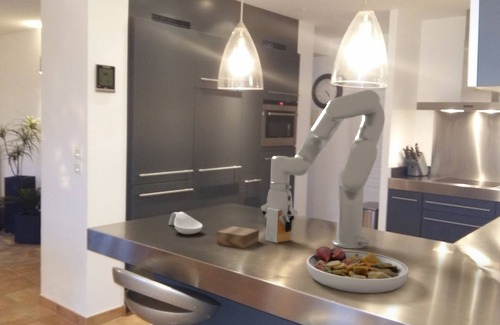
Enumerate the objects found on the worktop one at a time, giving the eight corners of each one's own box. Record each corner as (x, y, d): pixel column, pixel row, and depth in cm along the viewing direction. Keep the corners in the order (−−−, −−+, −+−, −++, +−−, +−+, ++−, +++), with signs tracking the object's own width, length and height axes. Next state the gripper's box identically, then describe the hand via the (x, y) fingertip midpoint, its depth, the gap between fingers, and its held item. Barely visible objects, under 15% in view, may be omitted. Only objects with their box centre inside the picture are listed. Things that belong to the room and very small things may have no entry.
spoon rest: (207, 235, 194) (207, 218, 193) (180, 237, 188) (180, 220, 187) (184, 224, 214) (185, 208, 213) (160, 226, 208) (160, 210, 207)
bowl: (423, 280, 143) (425, 255, 143) (378, 306, 121) (380, 276, 120) (338, 259, 163) (339, 237, 163) (286, 278, 141) (287, 253, 140)
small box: (276, 243, 182) (277, 210, 181) (265, 240, 187) (266, 208, 186) (290, 240, 188) (291, 208, 187) (278, 237, 192) (280, 206, 191)
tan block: (258, 242, 184) (259, 229, 184) (244, 249, 174) (244, 235, 173) (232, 238, 190) (232, 226, 190) (216, 244, 179) (217, 231, 179)
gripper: (303, 188, 183) (301, 231, 184) (268, 184, 194) (266, 224, 195) (292, 190, 177) (290, 234, 179) (256, 185, 188) (255, 227, 189)
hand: (278, 229), depth 187 cm, fingers open, 9 cm apart
